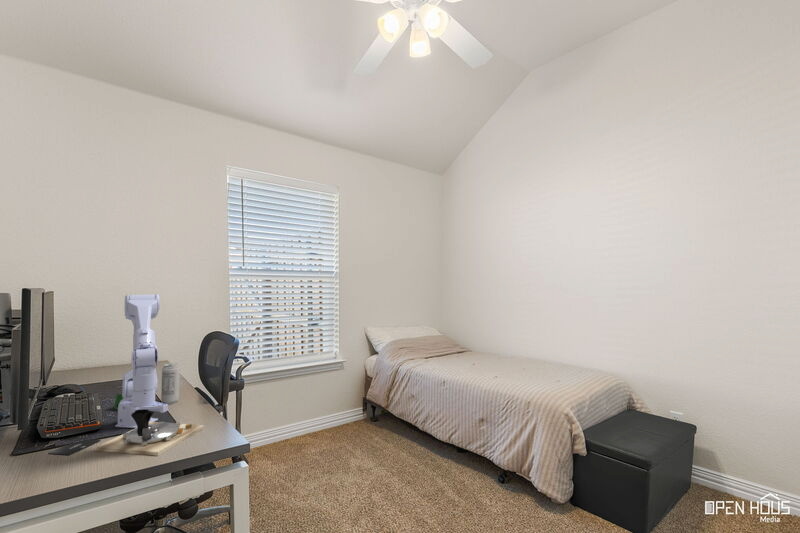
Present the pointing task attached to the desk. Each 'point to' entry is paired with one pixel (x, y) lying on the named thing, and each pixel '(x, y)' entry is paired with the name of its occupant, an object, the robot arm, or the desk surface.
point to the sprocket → (153, 433)
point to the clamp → (118, 400)
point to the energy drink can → (170, 383)
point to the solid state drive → (73, 447)
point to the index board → (150, 448)
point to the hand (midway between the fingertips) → (142, 434)
